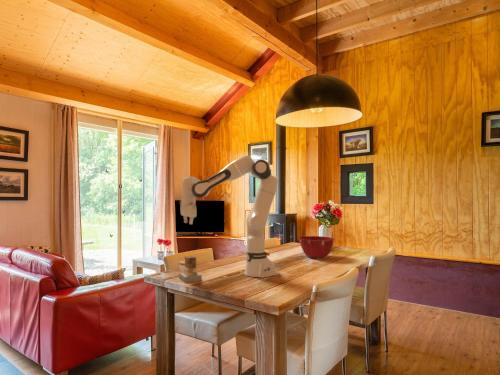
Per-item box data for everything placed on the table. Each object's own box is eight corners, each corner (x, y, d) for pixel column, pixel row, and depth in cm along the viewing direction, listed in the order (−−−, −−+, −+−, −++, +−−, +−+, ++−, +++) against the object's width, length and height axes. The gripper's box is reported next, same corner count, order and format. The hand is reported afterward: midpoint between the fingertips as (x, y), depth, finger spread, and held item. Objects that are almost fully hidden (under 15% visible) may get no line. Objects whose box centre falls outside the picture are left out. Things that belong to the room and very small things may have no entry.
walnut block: (192, 266, 192) (193, 255, 193) (196, 267, 188) (196, 257, 188) (184, 266, 190) (185, 256, 190) (187, 268, 186) (187, 258, 186)
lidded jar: (179, 276, 194) (179, 261, 195) (178, 272, 205) (178, 257, 205) (197, 275, 197) (197, 260, 197) (195, 271, 208) (195, 257, 208)
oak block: (193, 272, 193) (193, 265, 193) (197, 274, 188) (197, 267, 188) (183, 273, 190) (183, 266, 190) (187, 275, 185) (187, 268, 185)
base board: (195, 276, 196) (195, 271, 196) (201, 280, 187) (201, 275, 187) (179, 278, 191) (179, 273, 191) (184, 282, 182) (184, 277, 182)
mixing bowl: (292, 254, 270) (292, 236, 270) (322, 253, 279) (322, 235, 279) (308, 261, 243) (308, 241, 243) (341, 259, 252) (341, 239, 252)
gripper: (199, 202, 198) (198, 224, 198) (188, 201, 216) (187, 222, 216) (189, 202, 195) (189, 225, 195) (178, 201, 213) (178, 222, 212)
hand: (188, 223), depth 205 cm, fingers open, 8 cm apart
